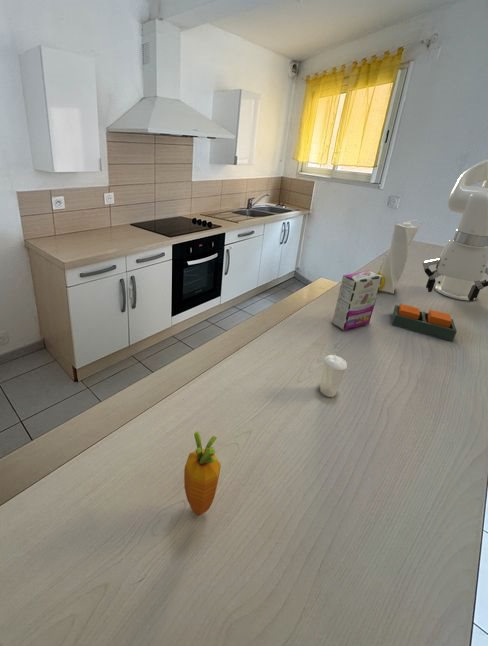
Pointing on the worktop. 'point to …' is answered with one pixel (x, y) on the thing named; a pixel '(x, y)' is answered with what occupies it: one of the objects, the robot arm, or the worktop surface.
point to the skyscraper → (397, 255)
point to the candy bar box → (356, 299)
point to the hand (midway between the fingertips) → (449, 294)
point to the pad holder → (424, 325)
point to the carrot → (201, 476)
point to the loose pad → (439, 318)
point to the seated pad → (408, 311)
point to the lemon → (381, 281)
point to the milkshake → (332, 374)
